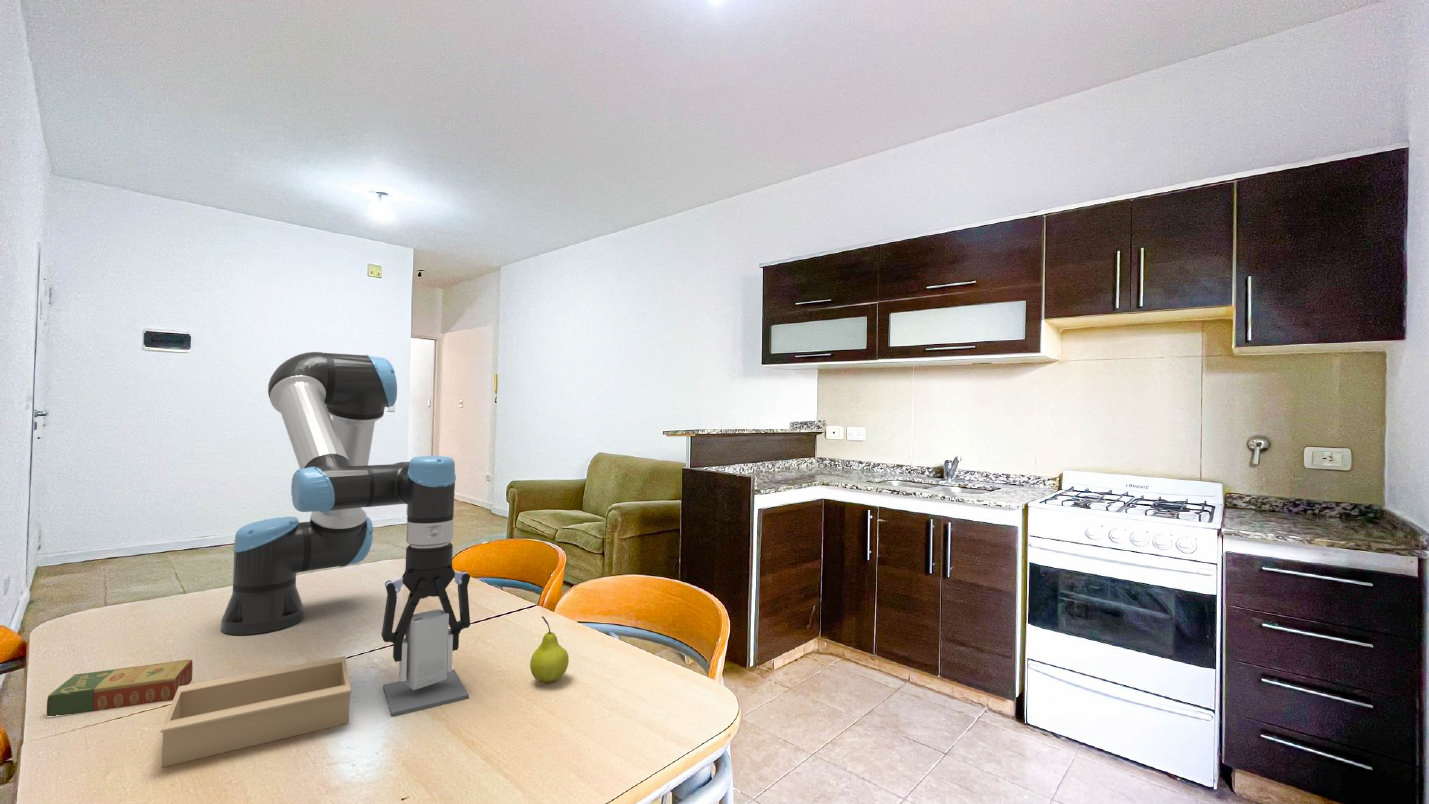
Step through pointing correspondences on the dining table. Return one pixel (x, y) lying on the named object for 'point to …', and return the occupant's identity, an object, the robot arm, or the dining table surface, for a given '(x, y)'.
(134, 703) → the carton
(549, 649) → the fruit
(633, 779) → the dining table surface
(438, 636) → the skincare box
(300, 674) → the tray
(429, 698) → the mat
